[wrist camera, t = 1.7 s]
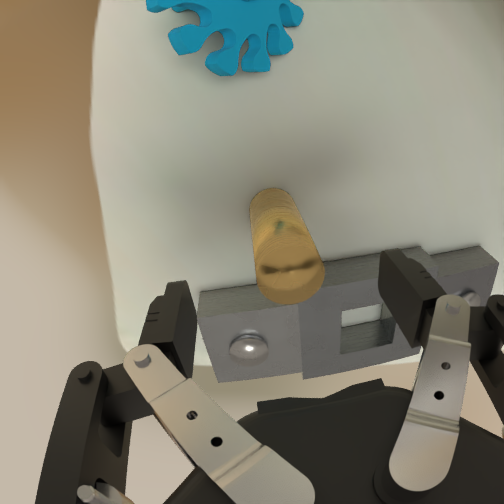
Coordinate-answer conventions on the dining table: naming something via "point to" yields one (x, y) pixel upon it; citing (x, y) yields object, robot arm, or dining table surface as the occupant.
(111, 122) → the dining table surface
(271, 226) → the pin
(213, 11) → the gear
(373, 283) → the grey block with hole
